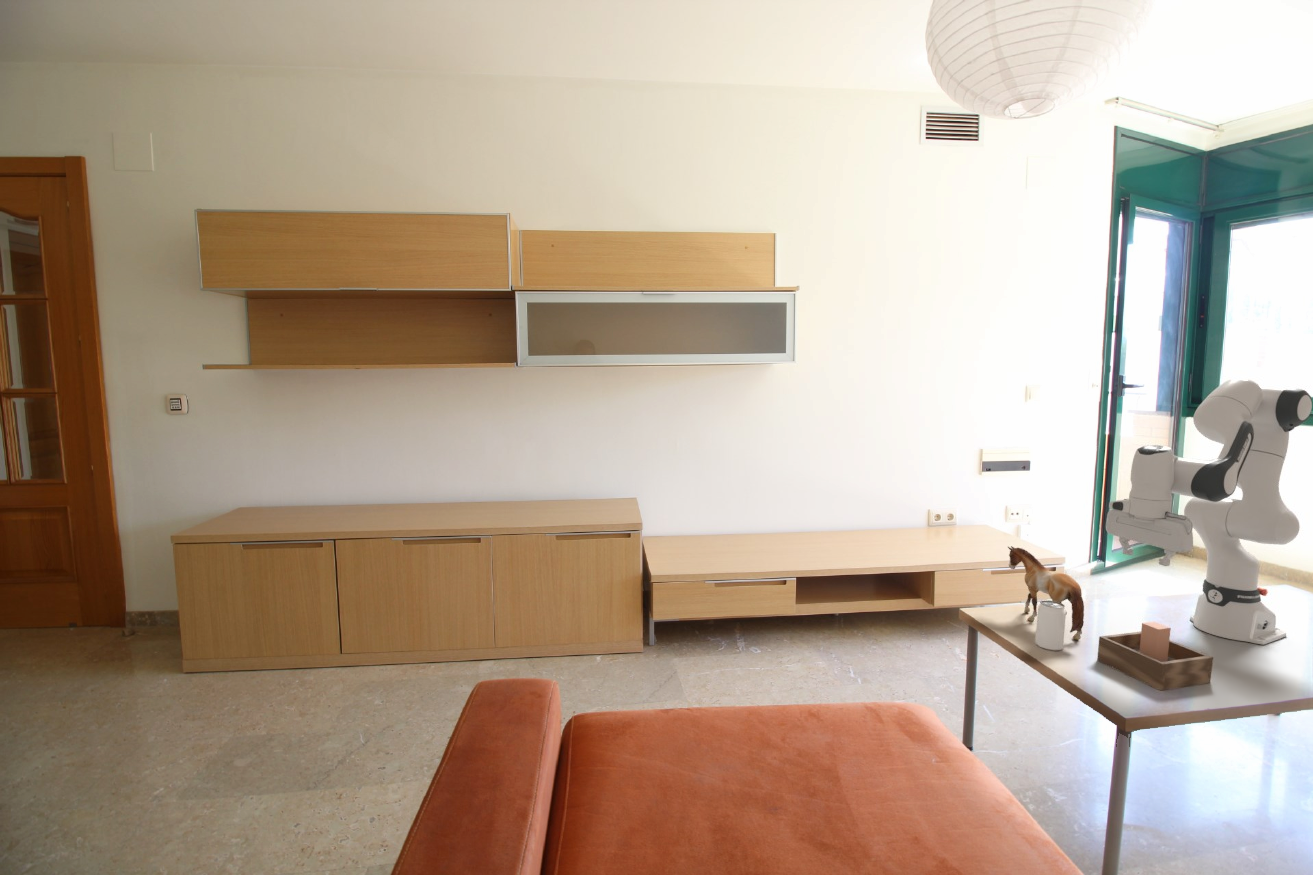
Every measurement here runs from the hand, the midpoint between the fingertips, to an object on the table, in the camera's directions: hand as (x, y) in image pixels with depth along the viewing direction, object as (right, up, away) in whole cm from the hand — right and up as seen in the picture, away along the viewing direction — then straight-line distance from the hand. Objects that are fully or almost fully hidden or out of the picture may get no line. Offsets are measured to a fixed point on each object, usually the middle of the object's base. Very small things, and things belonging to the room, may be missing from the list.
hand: (1145, 559), depth 165 cm
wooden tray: (-4, -27, -7) cm, 28 cm away
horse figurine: (-16, -24, +20) cm, 35 cm away
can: (-21, -25, +7) cm, 34 cm away
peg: (-4, -27, -7) cm, 28 cm away
